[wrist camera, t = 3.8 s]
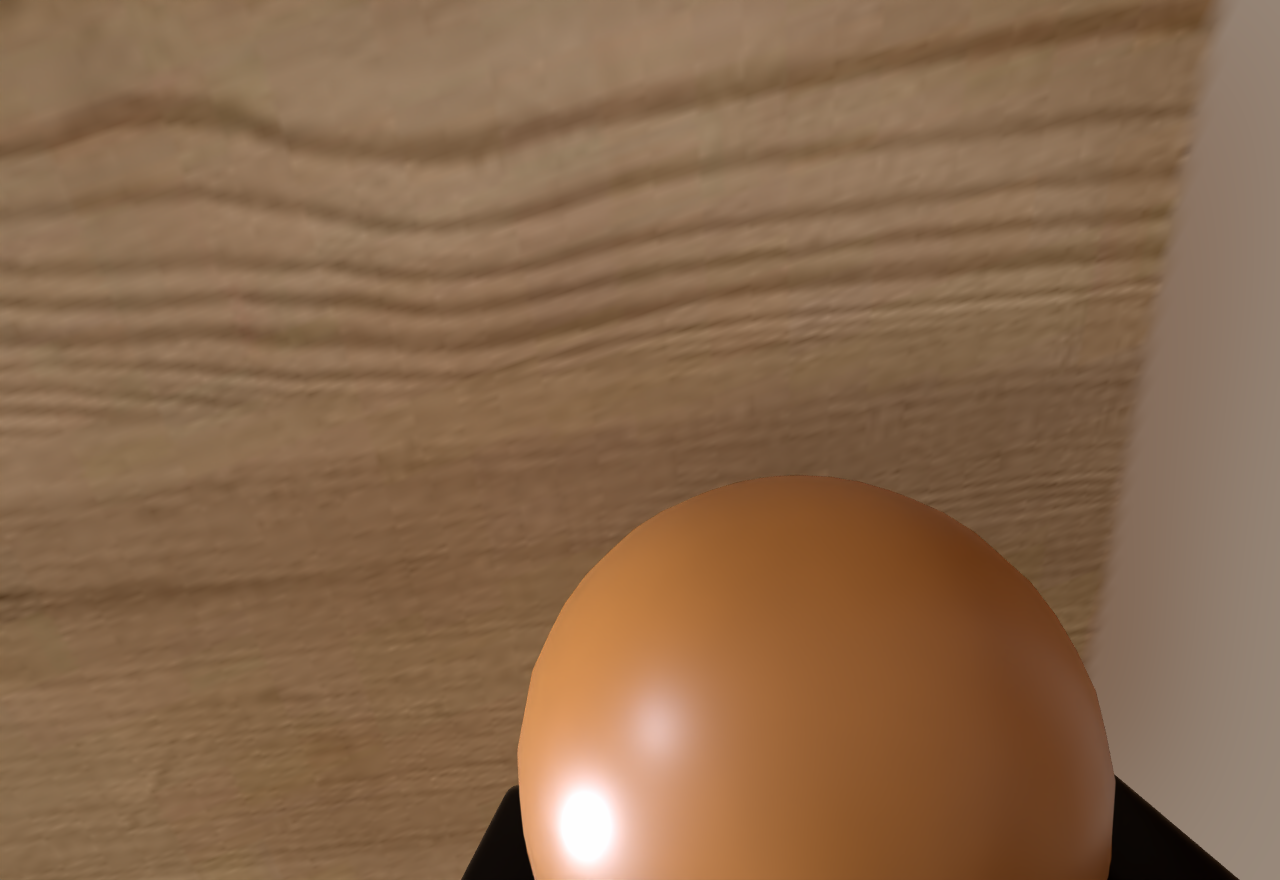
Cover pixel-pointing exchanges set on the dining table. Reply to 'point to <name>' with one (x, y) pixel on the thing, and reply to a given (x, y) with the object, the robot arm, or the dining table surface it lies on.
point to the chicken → (811, 703)
